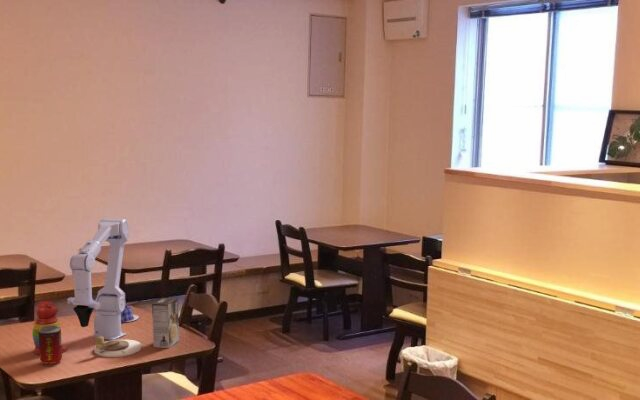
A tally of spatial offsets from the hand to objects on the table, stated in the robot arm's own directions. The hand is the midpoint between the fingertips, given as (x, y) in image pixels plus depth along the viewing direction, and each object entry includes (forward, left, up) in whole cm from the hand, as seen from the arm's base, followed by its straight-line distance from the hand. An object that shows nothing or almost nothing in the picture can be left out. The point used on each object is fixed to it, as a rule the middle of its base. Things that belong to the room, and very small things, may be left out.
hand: (84, 326), depth 267 cm
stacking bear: (-13, -3, -10) cm, 17 cm away
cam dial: (+8, +4, -8) cm, 12 cm away
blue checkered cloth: (-13, +39, -10) cm, 43 cm away
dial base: (+9, +7, -9) cm, 14 cm away
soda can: (-3, -13, -10) cm, 17 cm away
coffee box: (+21, +19, -10) cm, 30 cm away
